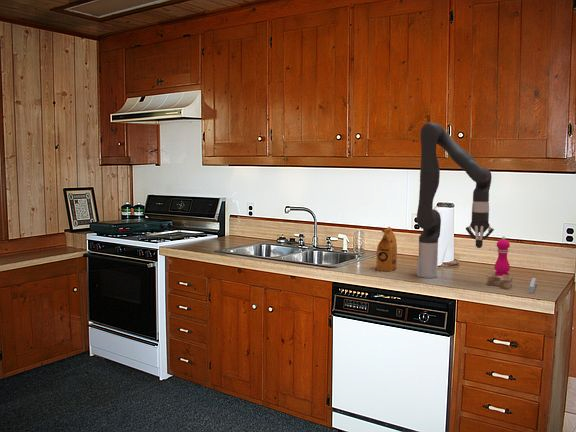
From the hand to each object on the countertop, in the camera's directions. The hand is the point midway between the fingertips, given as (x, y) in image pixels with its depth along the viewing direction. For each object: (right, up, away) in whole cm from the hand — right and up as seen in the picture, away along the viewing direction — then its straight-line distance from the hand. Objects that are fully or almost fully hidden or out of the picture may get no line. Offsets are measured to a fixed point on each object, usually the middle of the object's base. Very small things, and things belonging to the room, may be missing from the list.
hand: (479, 247), depth 260 cm
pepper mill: (+17, -15, +16) cm, 28 cm away
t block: (+9, -17, -2) cm, 19 cm away
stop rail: (+21, -18, -9) cm, 29 cm away
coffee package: (-38, -14, +32) cm, 51 cm away
